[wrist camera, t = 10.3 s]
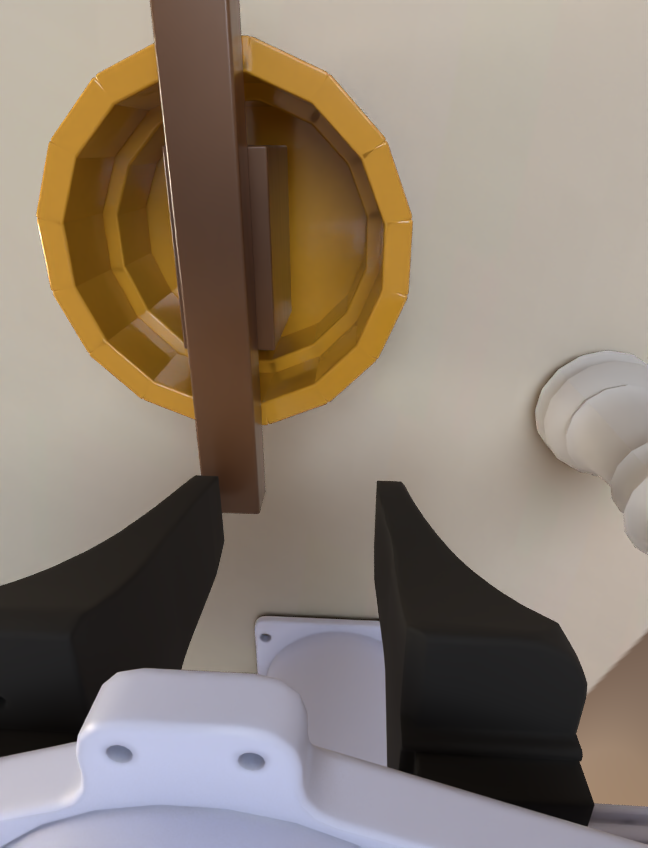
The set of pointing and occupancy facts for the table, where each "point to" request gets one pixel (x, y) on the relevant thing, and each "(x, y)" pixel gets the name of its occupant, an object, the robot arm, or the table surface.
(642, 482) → the rook chess piece
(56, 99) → the table surface
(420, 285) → the table surface
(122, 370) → the bowl
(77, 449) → the table surface
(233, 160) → the tall wooden post
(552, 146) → the table surface
